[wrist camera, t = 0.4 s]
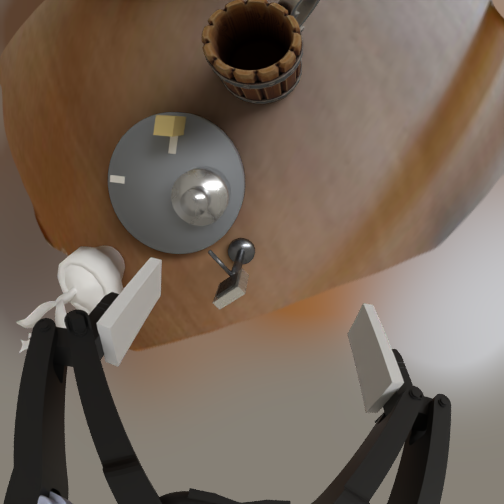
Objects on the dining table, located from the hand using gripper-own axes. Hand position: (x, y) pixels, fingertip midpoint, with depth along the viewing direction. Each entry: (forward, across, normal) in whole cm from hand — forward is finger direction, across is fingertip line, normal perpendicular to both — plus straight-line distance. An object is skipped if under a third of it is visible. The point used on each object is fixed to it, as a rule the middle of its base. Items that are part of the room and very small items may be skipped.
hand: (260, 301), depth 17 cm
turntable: (+22, -14, 0) cm, 26 cm away
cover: (+20, -9, 0) cm, 22 cm away
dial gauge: (+24, -4, -8) cm, 25 cm away
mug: (+24, -4, +20) cm, 32 cm away
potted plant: (+24, -25, -17) cm, 39 cm away
